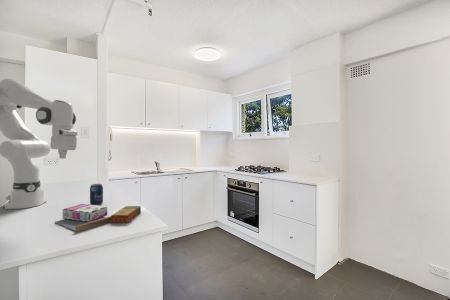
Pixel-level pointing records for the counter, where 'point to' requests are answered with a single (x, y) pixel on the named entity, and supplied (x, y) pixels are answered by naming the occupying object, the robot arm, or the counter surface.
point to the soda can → (96, 194)
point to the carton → (126, 214)
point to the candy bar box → (85, 212)
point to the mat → (71, 223)
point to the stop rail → (92, 224)
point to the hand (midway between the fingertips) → (62, 158)
